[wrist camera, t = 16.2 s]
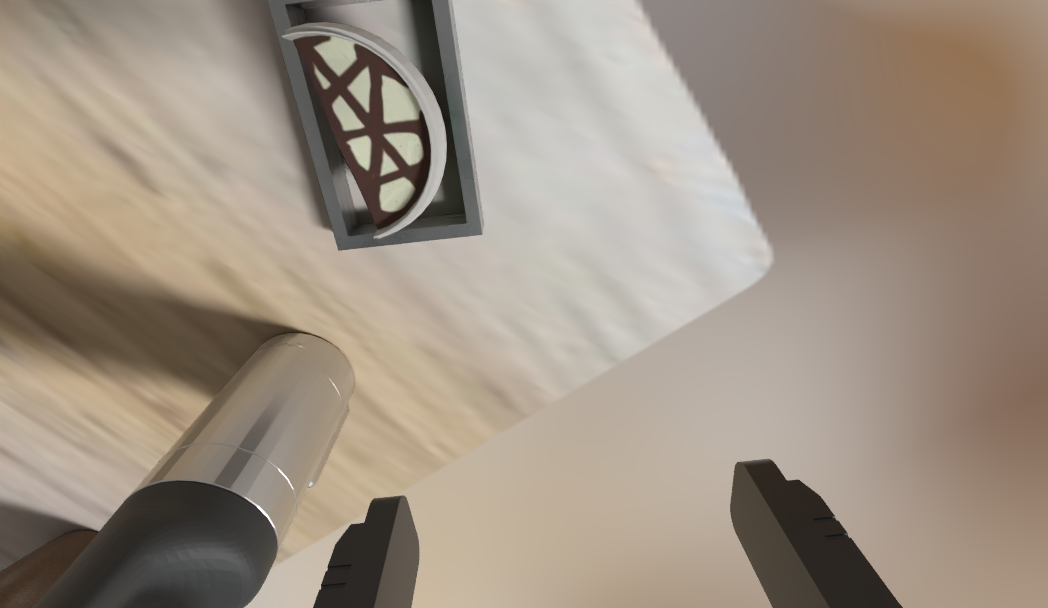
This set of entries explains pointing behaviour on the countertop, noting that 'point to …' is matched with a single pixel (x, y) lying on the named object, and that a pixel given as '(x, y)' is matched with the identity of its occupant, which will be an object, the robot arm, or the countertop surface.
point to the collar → (325, 152)
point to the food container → (377, 118)
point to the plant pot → (41, 570)
